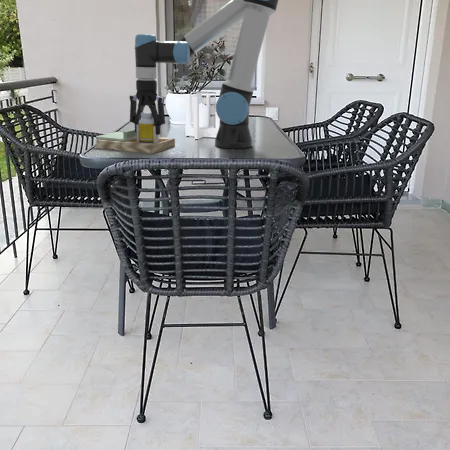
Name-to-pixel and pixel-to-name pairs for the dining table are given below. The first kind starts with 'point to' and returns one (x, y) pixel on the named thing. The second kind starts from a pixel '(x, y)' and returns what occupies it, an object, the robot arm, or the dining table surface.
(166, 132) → the dining table surface
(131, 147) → the board
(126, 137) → the cover
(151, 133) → the pill bottle
